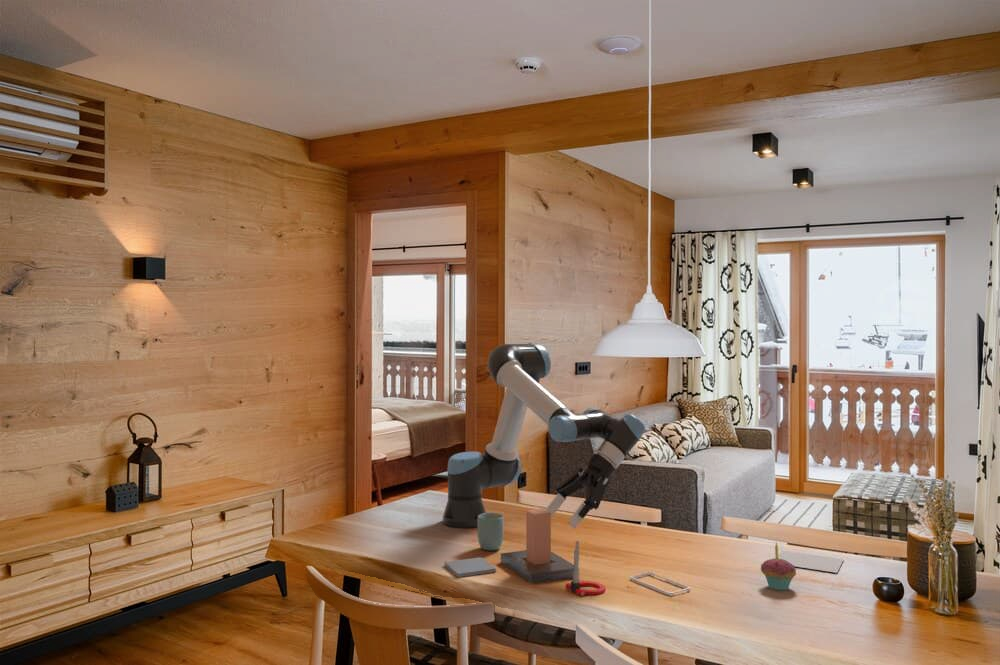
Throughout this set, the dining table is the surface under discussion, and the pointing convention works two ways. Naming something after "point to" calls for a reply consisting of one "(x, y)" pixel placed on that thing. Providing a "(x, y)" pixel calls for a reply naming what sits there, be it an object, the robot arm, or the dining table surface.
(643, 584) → the phone case
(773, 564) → the cupcake
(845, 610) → the dining table surface
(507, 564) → the socket block
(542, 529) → the peg
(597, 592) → the tow hook
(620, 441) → the robot arm
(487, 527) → the cup
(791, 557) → the paper stack
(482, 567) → the pad
